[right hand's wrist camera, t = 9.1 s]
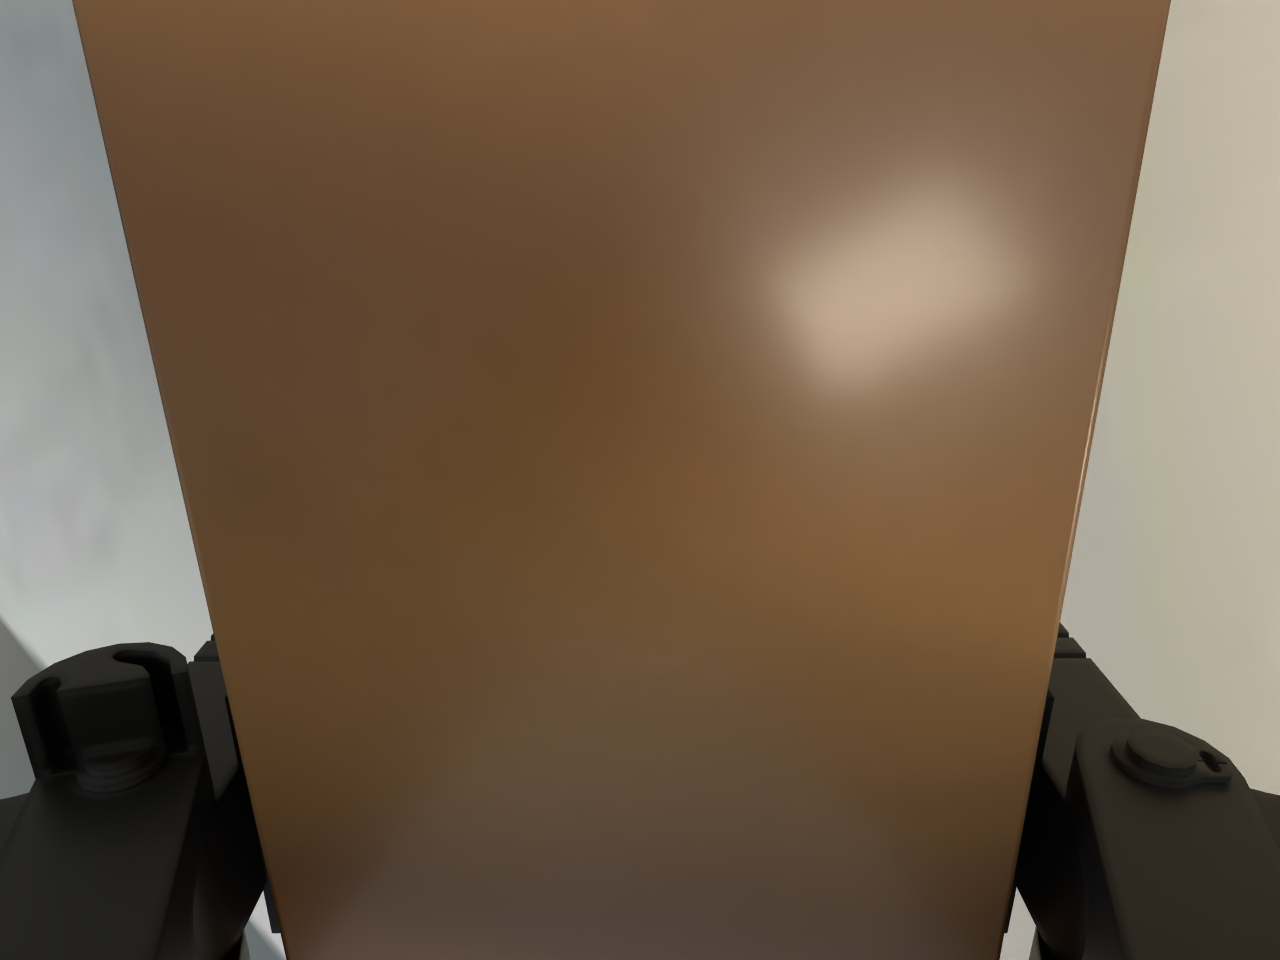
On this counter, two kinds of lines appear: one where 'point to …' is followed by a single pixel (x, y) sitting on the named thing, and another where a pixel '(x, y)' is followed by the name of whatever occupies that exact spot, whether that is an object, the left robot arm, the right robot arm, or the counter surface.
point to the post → (631, 445)
